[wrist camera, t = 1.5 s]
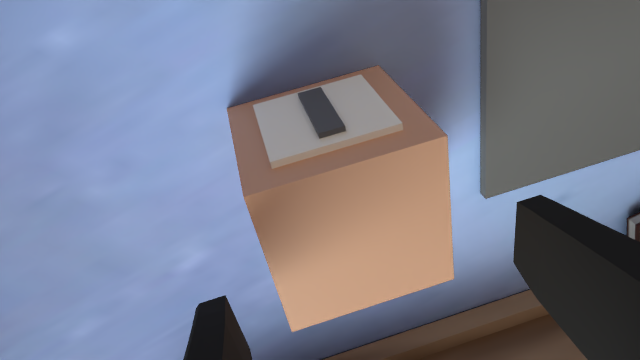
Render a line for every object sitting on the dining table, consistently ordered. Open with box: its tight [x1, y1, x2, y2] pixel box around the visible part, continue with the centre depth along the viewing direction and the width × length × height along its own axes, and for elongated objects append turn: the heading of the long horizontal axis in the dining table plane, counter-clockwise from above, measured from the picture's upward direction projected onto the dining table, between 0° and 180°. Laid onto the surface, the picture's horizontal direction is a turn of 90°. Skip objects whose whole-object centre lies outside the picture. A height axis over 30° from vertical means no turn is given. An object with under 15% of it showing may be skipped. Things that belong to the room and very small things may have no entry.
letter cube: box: [227, 65, 454, 332], centre depth 15 cm, size 5×5×5 cm
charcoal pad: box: [480, 0, 640, 199], centre depth 17 cm, size 8×8×1 cm
